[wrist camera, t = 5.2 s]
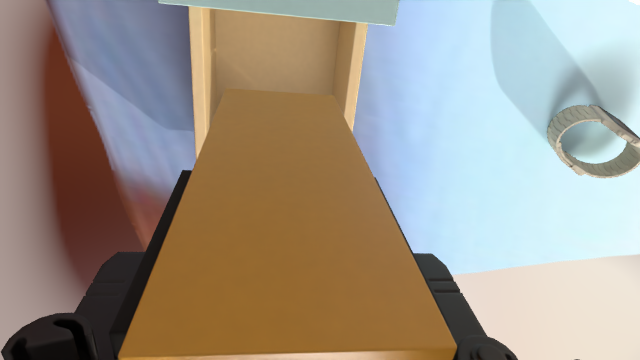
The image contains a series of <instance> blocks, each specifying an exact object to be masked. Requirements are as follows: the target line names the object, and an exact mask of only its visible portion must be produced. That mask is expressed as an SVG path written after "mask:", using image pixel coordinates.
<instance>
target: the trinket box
mask: <svg viewBox="0 0 640 360" xmlns="http://www.w3.org/2000/svg"><path fill="white" fill-rule="evenodd" d="M628 1H631V2H633V3H635V4H637V5H640V0H628Z"/></svg>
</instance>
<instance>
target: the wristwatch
mask: <svg viewBox="0 0 640 360" xmlns="http://www.w3.org/2000/svg"><path fill="white" fill-rule="evenodd" d="M586 121H595V122H601V123H602V124H604V125H605V126H606V127H608V128H609V129H610V130H612V131H613V132H614V133H616V134H617V135H618V136H620V137H621V138H623V139H625V140H626V141H627V144H626V147H625V149H624V150H623V152H622V153H621V154H620V155H619V156H617V157H616V158H614V159H612V160H610V161H608V162H605V163H599V164H590V163H585V162H582V161H579V160H577V159H576V158H574V157H573V156H571V155H570V154H568V153H567V152H564V151H563V150H562V148H561V142H560V138H561V137H562V135H563V133H565V132H566V130H567V129H569V128H571V127H572V126H573V125H576V124H578V123H582V122H586ZM547 138H548V141H549V143H550V145H551V147H552V148H553V149H554V151H555V152H556V154H557V155H558V156H559V158H560V159H561V160H562V161H563V162H564V163H565V164H566V165H567V166H569V167H570V168H571V169H572V170H573V171H574V172H576V173H577V174H578V175H584V174H587V175H590V176H592V177H597V178H613V177H618V176H621V175H624V174H626V173H628V172H630V171H632V170H633V169H635V168H636V167H637V165H639V164H640V138H639V137H638V136H637V135H636V134H635V133H634V132H633V131H631V130H630V129H629V128H628V127H627V126H626V125H625V124H624V123H623V122H621V121H620V120H619V119H617V118H616V117H614V116H613V115H611V114H610V113H608V112H607V111H605V110H604V109H602V108H601V107H599V106H593V105H589V106H588V107H587V106H585V105H577V106H572V107H569V108H566V109H564V110H562V111H561V112H559V113H558V114H557V116H555V117H554V118H553V119H552V121H551V123H550V125H549V127H548V131H547Z"/></svg>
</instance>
